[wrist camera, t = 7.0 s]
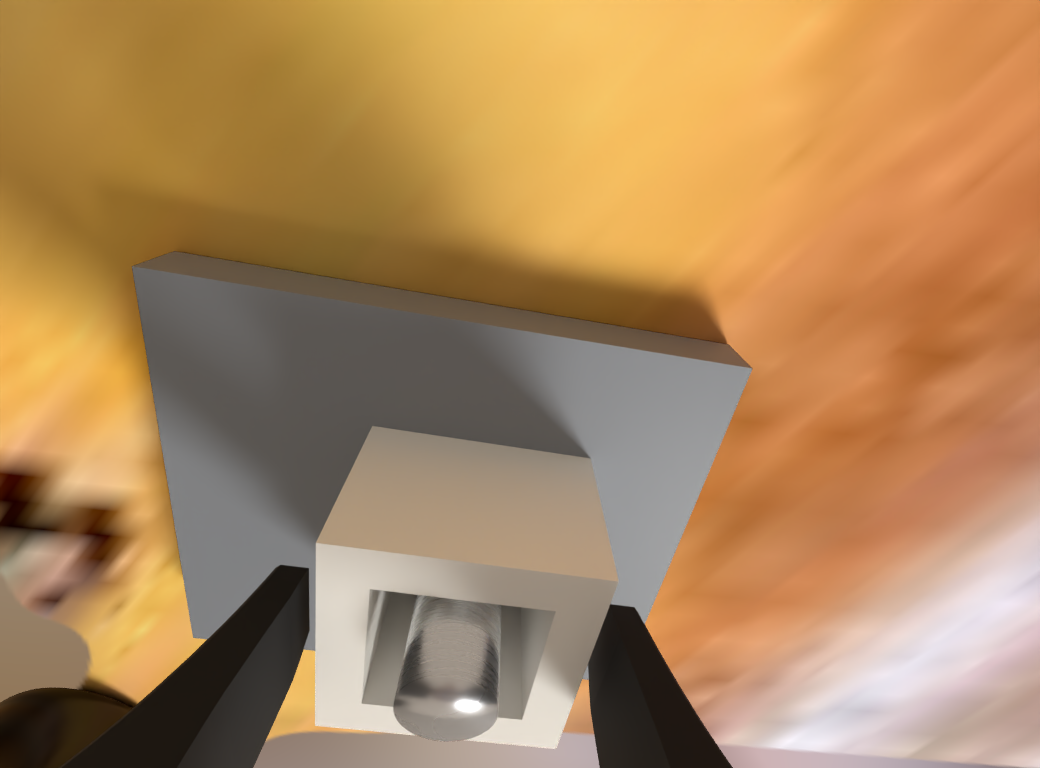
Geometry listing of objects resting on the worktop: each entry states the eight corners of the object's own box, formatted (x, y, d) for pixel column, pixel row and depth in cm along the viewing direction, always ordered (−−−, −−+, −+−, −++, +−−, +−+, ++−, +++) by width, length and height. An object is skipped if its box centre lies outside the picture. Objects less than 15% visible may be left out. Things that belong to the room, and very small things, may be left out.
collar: (590, 458, 13) (618, 581, 10) (546, 607, 16) (555, 748, 12) (372, 426, 13) (315, 543, 9) (362, 584, 15) (314, 725, 12)
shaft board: (728, 344, 13) (893, 510, 8) (612, 642, 19) (656, 876, 13) (174, 251, 12) (-139, 362, 6) (218, 598, 17) (69, 833, 12)
